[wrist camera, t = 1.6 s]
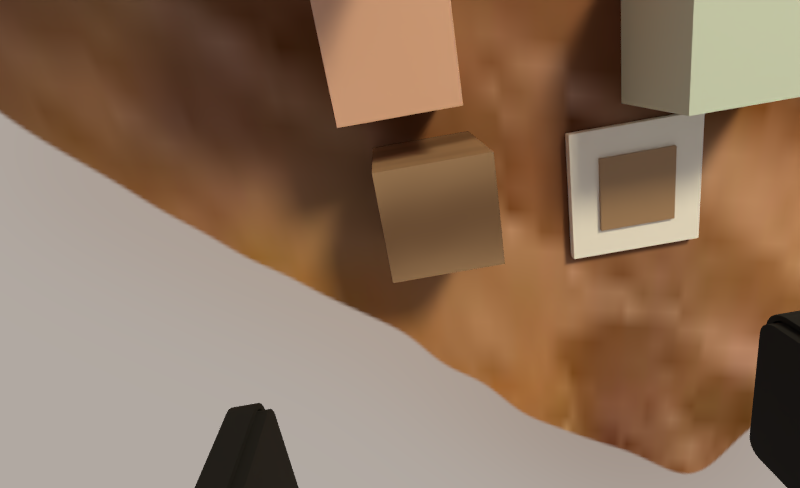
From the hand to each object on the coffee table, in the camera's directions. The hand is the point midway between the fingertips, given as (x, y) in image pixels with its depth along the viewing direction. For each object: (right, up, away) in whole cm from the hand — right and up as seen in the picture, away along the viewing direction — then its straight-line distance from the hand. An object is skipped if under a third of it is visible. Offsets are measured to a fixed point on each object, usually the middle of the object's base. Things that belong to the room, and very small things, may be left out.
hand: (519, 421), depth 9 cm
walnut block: (-1, +7, +17) cm, 18 cm away
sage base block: (+12, +15, +15) cm, 24 cm away
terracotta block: (-3, +13, +15) cm, 20 cm away
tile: (+10, +7, +17) cm, 21 cm away
